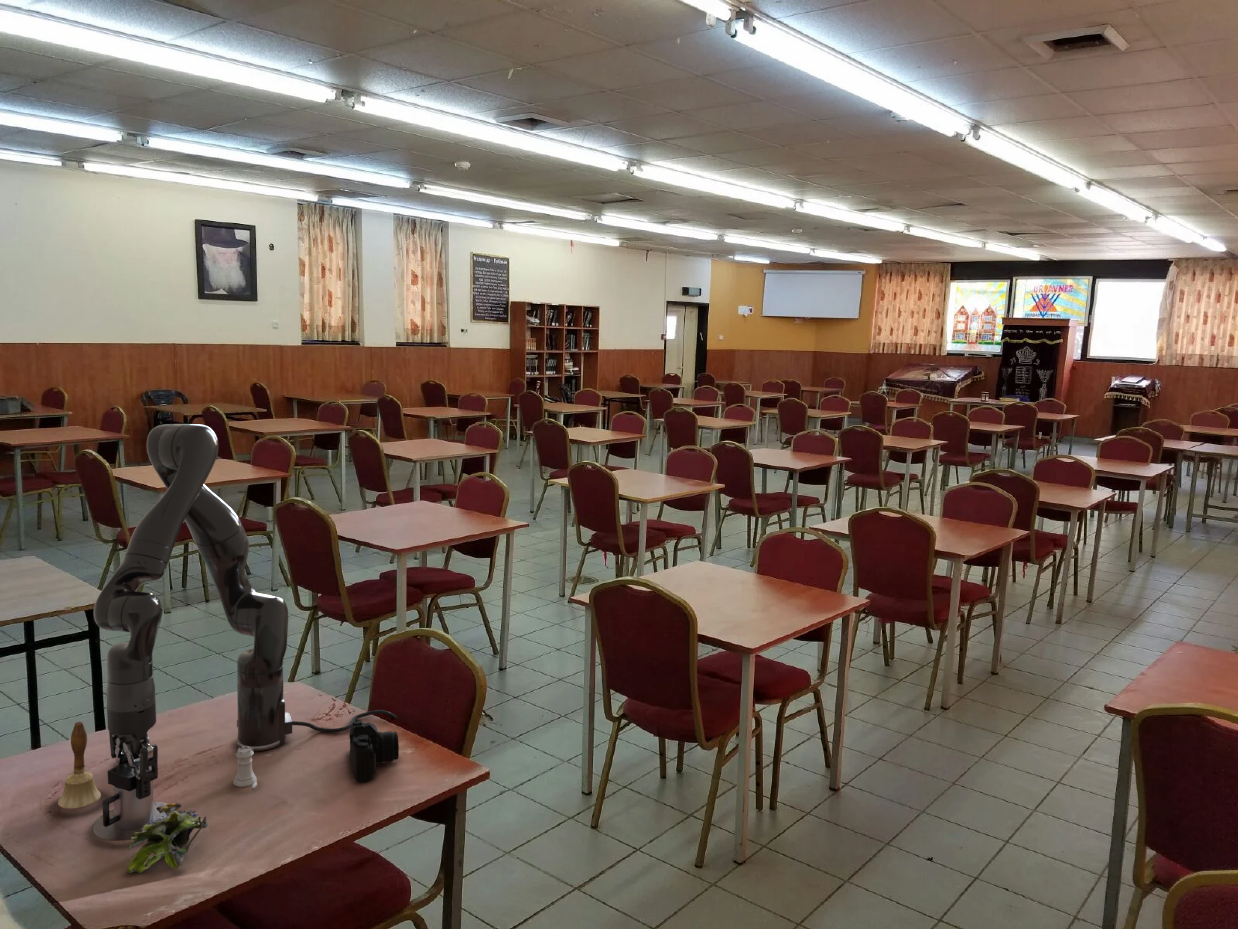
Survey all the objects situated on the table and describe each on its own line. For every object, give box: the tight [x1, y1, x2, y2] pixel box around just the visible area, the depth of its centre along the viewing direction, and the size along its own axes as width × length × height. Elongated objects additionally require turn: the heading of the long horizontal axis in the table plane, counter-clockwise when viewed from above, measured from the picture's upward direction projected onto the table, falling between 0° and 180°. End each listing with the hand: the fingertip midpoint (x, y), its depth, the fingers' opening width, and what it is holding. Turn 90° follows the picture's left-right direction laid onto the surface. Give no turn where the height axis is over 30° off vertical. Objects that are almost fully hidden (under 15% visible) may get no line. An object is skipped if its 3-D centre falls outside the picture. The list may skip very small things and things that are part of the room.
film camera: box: [348, 718, 400, 783], centre depth 185 cm, size 15×10×9 cm, turn 22°
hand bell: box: [57, 721, 102, 809], centre depth 163 cm, size 8×8×16 cm
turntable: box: [91, 801, 174, 842], centre depth 158 cm, size 13×13×1 cm
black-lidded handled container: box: [101, 758, 159, 830], centre depth 156 cm, size 9×6×10 cm
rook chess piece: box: [232, 746, 258, 790], centre depth 173 cm, size 4×4×8 cm
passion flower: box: [126, 802, 208, 874], centre depth 148 cm, size 11×11×12 cm
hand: (134, 790), depth 157 cm, fingers closed on black-lidded handled container, 6 cm apart
